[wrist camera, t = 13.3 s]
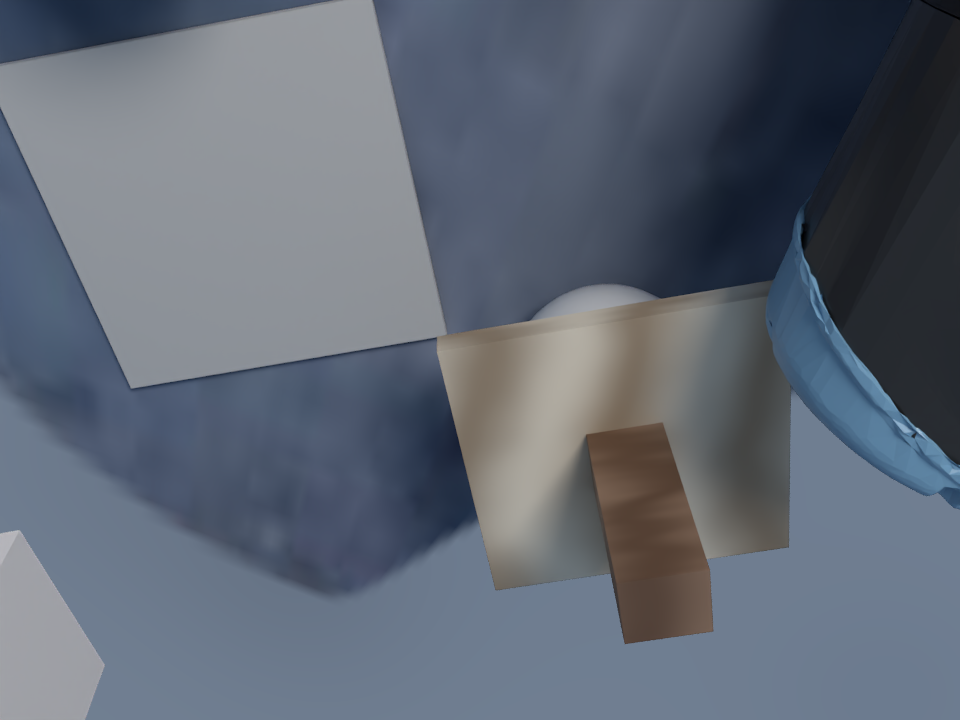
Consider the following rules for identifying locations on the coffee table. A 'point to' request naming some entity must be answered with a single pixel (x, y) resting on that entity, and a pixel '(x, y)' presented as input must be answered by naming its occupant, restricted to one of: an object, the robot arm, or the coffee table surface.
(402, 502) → the coffee table surface
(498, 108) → the coffee table surface
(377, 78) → the mat
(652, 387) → the board
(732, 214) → the coffee table surface
